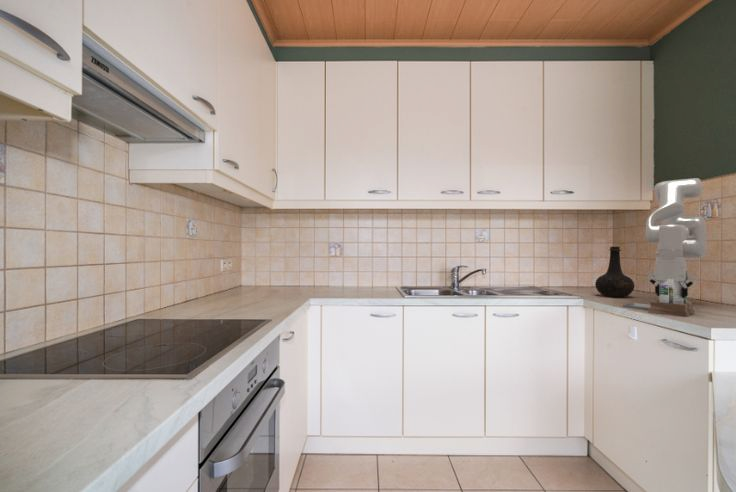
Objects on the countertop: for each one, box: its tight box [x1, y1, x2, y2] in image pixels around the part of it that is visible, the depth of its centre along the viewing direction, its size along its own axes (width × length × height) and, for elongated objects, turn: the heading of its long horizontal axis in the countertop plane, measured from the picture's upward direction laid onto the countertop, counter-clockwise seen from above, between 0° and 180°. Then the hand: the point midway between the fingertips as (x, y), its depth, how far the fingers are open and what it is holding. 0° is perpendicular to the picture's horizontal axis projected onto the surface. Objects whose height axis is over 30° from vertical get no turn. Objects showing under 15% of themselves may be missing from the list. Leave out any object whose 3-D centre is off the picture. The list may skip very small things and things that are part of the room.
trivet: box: [622, 302, 650, 311], centre depth 161 cm, size 11×11×1 cm
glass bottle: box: [594, 246, 635, 298], centre depth 197 cm, size 18×18×28 cm
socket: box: [648, 299, 695, 318], centre depth 147 cm, size 12×12×4 cm
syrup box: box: [658, 279, 683, 304], centre depth 147 cm, size 6×6×14 cm
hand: (671, 296), depth 147 cm, fingers closed on syrup box, 7 cm apart
